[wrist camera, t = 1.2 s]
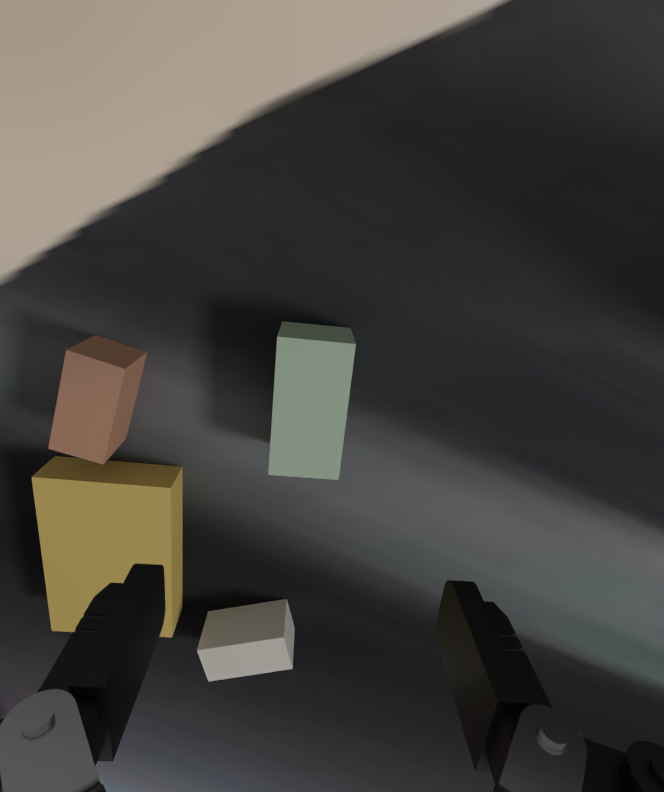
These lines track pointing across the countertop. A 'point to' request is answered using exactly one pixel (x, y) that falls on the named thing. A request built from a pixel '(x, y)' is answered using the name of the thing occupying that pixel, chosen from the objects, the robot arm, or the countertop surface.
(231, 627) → the cream brick
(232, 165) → the countertop surface
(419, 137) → the countertop surface
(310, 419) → the sage brick
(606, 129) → the countertop surface
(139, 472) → the mustard base brick
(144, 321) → the countertop surface
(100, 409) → the rust brick
